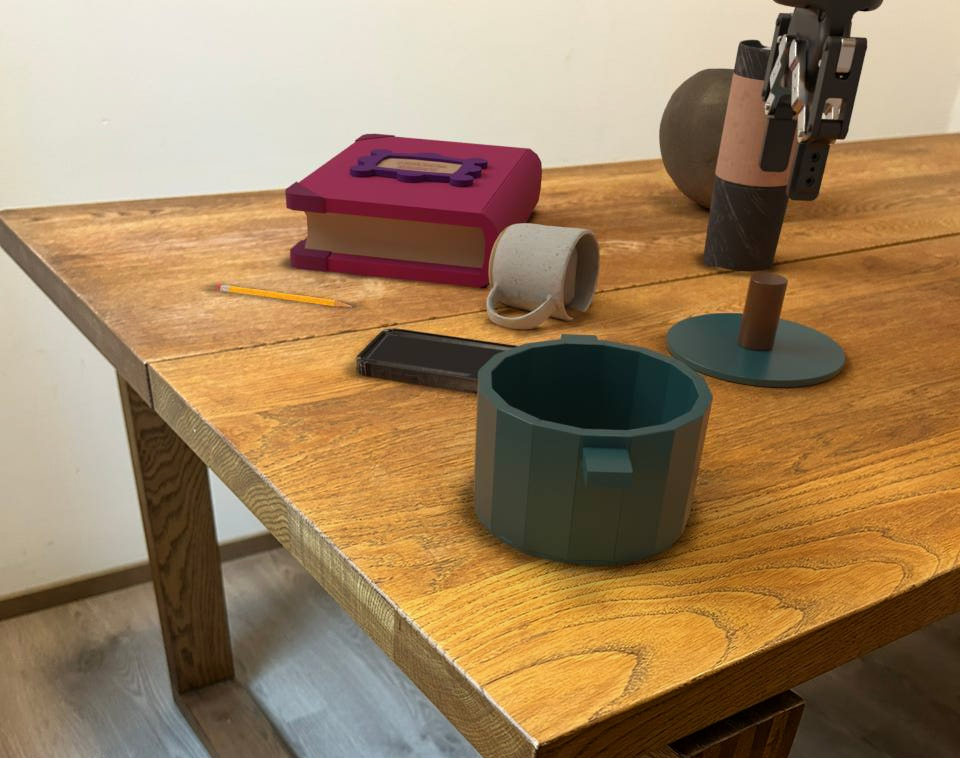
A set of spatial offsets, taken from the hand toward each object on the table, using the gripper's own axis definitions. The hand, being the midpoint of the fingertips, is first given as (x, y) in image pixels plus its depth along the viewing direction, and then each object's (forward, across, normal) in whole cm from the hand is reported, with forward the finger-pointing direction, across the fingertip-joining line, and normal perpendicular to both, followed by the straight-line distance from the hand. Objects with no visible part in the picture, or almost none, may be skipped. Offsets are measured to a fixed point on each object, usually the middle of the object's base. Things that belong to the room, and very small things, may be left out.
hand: (785, 184), depth 76 cm
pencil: (+14, +11, +40) cm, 44 cm away
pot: (+14, -25, +17) cm, 33 cm away
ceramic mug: (+14, +9, +17) cm, 24 cm away
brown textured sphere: (+14, +48, -6) cm, 50 cm away
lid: (+13, +1, -1) cm, 13 cm away
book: (+14, +31, +28) cm, 44 cm away
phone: (+14, -4, +24) cm, 28 cm away
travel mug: (+14, +26, -5) cm, 30 cm away
